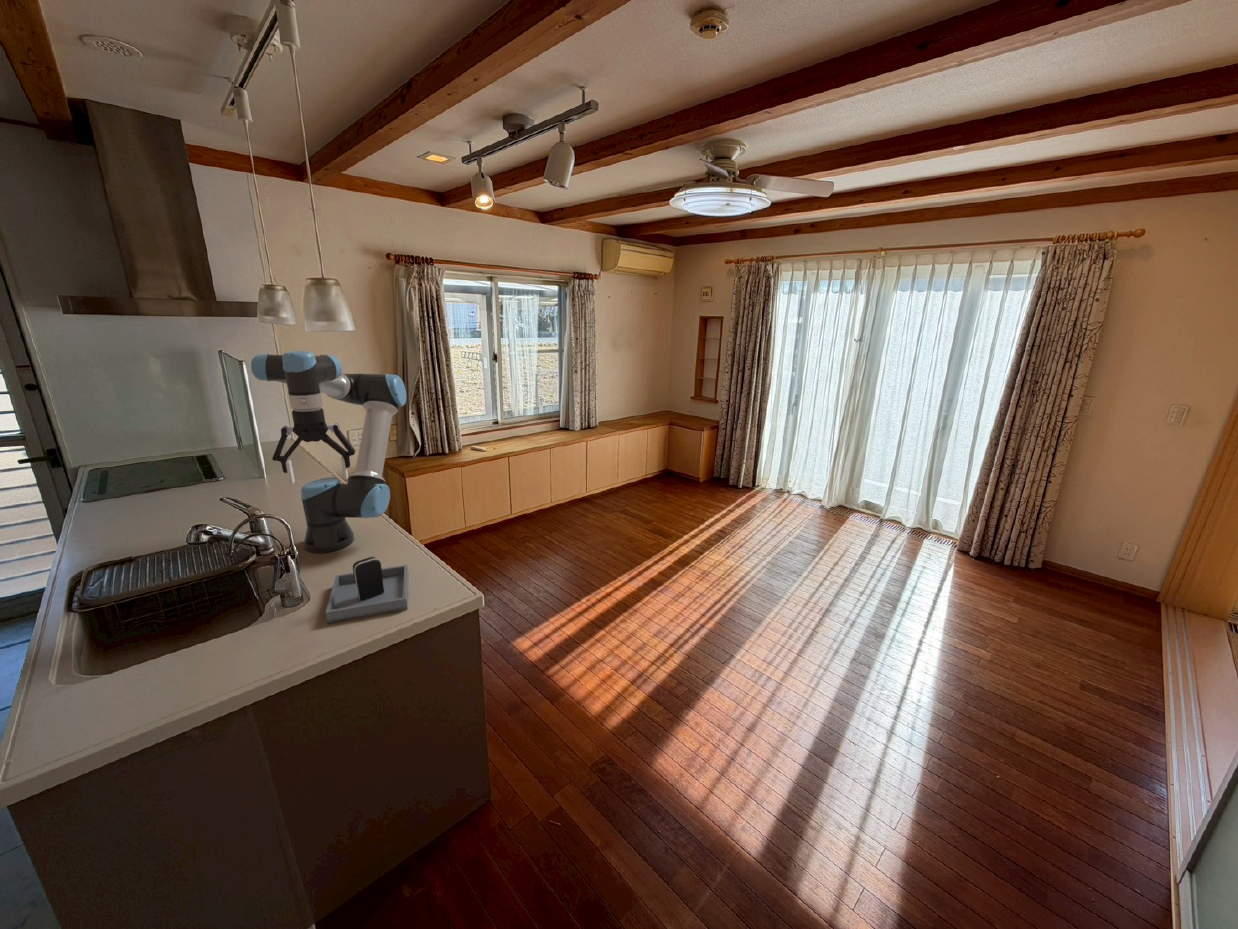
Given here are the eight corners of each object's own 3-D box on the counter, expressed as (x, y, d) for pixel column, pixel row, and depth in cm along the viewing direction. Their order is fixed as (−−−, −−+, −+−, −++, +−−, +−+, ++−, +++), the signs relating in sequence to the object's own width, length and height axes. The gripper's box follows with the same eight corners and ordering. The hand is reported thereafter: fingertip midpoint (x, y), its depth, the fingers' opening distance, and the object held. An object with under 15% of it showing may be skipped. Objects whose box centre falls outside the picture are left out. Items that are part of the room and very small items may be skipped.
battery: (380, 587, 144) (376, 553, 140) (385, 592, 141) (380, 558, 138) (355, 596, 139) (349, 561, 135) (360, 602, 136) (354, 566, 133)
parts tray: (337, 585, 145) (336, 575, 144) (408, 574, 152) (407, 564, 151) (327, 624, 128) (325, 612, 127) (407, 609, 135) (406, 598, 134)
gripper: (249, 413, 126) (265, 489, 133) (356, 409, 135) (366, 480, 142) (257, 408, 133) (272, 480, 139) (359, 404, 142) (368, 472, 148)
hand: (319, 480), depth 140 cm, fingers open, 13 cm apart
